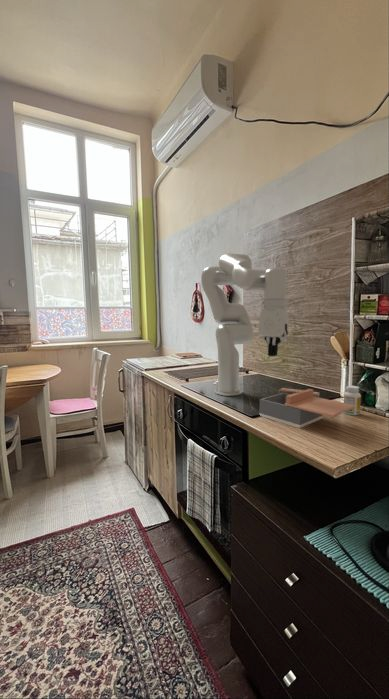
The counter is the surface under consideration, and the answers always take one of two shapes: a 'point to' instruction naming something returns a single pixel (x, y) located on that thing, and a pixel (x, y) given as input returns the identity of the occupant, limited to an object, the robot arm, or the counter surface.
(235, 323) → the robot arm
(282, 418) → the tray
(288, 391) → the packaged product
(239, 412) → the counter surface
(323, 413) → the mailer lid
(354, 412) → the supplement bottle
